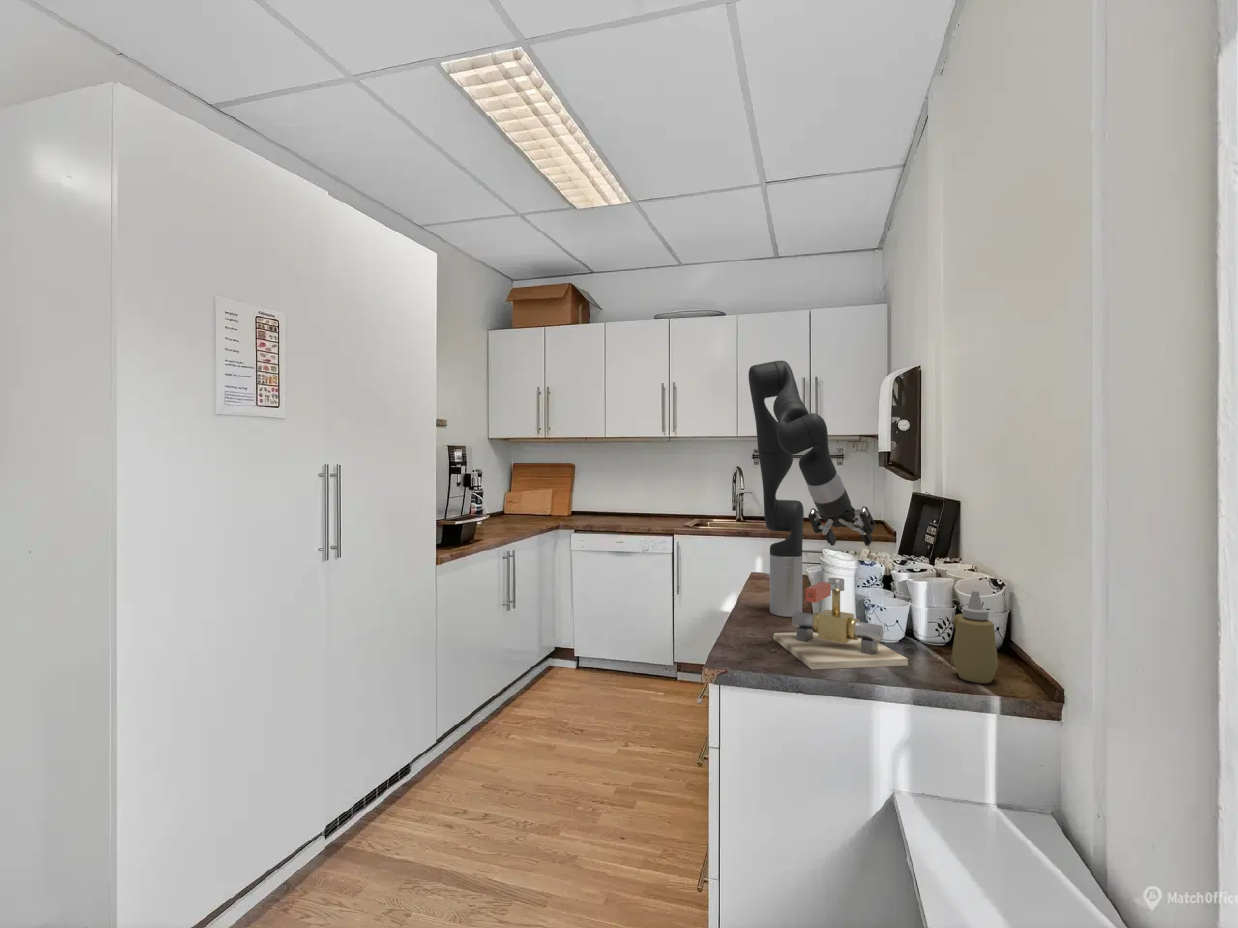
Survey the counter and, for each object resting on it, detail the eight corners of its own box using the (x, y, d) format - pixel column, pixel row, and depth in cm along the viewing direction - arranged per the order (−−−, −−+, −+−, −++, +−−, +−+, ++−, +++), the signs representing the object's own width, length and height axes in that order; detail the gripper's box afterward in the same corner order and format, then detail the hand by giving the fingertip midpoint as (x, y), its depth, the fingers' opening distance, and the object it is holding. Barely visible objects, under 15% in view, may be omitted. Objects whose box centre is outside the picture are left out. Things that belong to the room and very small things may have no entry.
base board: (773, 638, 150) (773, 633, 150) (856, 636, 152) (856, 630, 152) (811, 669, 128) (811, 662, 128) (907, 665, 130) (907, 658, 130)
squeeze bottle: (990, 674, 125) (991, 588, 125) (1004, 688, 117) (1004, 597, 117) (947, 670, 127) (948, 586, 127) (958, 684, 119) (958, 594, 119)
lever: (831, 587, 142) (831, 575, 142) (846, 589, 140) (846, 577, 140) (802, 600, 128) (802, 587, 128) (819, 603, 126) (819, 589, 126)
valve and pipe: (790, 639, 144) (790, 586, 144) (799, 634, 148) (799, 582, 148) (877, 656, 131) (877, 598, 131) (884, 650, 136) (884, 593, 136)
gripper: (863, 479, 134) (884, 532, 141) (804, 483, 144) (827, 532, 151) (853, 500, 130) (876, 555, 136) (793, 503, 140) (817, 553, 146)
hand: (850, 543), depth 143 cm, fingers open, 8 cm apart
